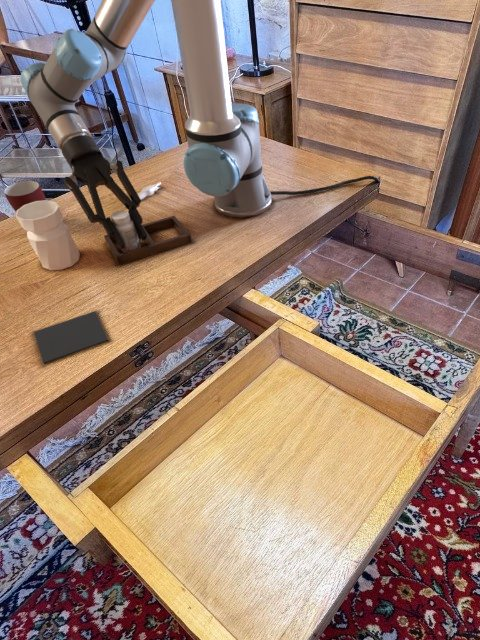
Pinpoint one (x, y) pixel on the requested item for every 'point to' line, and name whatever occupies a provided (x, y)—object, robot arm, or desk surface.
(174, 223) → the rack
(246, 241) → the desk surface
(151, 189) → the white elongated piece
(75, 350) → the mat
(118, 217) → the pill bottle
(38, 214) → the vase
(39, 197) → the mug
